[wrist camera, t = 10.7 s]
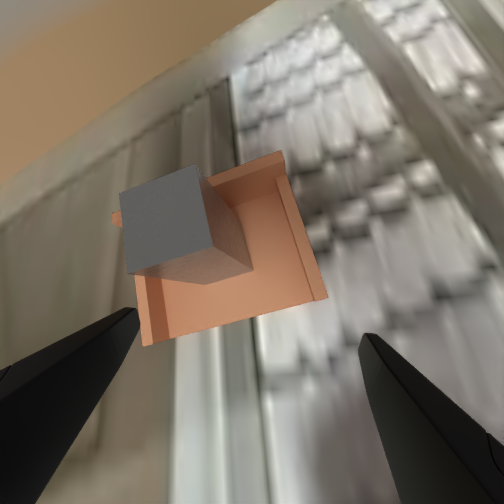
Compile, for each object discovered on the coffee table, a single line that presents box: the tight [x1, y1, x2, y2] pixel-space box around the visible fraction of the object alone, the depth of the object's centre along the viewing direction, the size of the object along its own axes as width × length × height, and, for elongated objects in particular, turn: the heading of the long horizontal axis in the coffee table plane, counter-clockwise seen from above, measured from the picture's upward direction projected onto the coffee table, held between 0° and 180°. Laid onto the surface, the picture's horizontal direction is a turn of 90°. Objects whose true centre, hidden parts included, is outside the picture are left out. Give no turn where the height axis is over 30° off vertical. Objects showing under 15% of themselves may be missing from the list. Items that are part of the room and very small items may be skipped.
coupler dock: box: [112, 150, 329, 346], centre depth 19 cm, size 12×16×5 cm
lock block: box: [119, 164, 254, 285], centre depth 17 cm, size 5×5×10 cm
